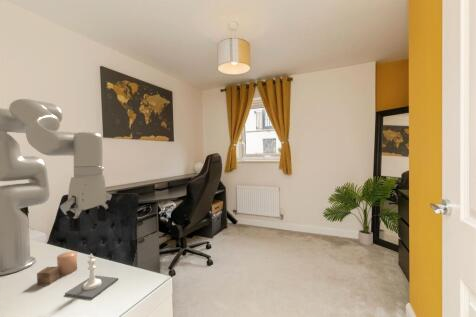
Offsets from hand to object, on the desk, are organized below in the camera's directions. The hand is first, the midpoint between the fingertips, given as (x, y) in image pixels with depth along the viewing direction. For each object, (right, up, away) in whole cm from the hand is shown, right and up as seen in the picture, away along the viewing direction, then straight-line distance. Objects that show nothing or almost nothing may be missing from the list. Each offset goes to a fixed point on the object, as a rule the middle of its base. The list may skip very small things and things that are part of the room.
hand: (89, 225), depth 70 cm
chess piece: (+1, -19, 0) cm, 19 cm away
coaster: (+1, -20, 0) cm, 20 cm away
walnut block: (-16, -20, +4) cm, 26 cm away
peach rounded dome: (-15, -20, +10) cm, 27 cm away
